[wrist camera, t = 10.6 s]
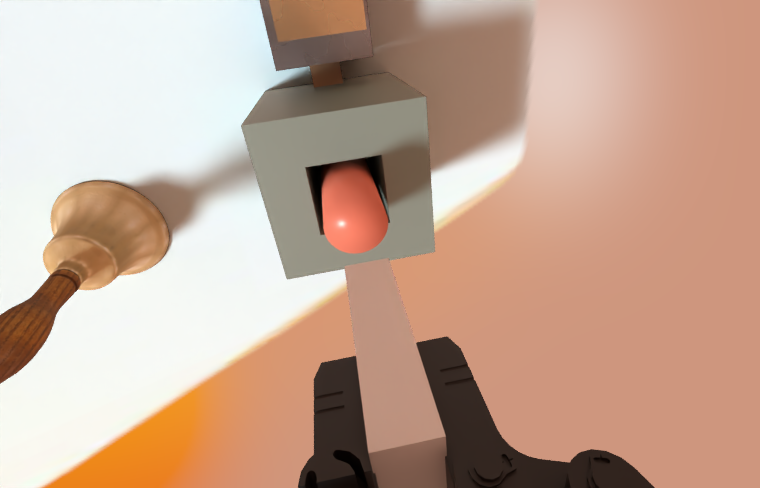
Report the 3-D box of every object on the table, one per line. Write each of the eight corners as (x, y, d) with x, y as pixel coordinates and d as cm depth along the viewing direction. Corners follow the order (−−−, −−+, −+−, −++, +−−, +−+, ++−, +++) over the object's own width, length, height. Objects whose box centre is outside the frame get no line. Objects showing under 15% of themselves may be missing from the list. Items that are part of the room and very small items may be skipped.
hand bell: (160, 182, 30) (31, 317, 16) (176, 272, 34) (84, 442, 20) (37, 178, 29) (-218, 322, 15) (69, 272, 33) (-109, 455, 19)
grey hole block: (265, 90, 28) (241, 125, 18) (393, 71, 29) (434, 95, 19) (294, 204, 32) (286, 279, 23) (404, 185, 33) (441, 250, 24)
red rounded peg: (316, 150, 24) (317, 201, 17) (364, 142, 24) (384, 190, 17) (325, 195, 26) (330, 258, 19) (370, 187, 26) (391, 247, 19)
